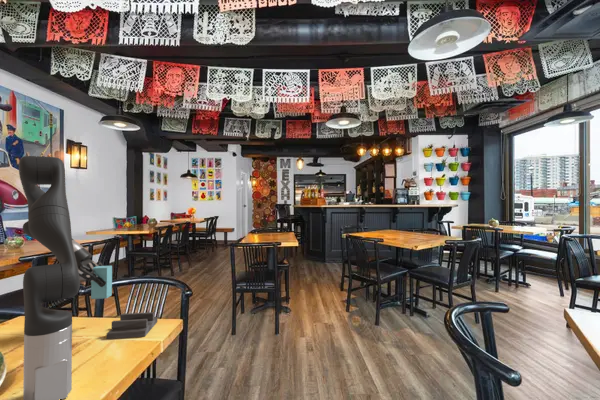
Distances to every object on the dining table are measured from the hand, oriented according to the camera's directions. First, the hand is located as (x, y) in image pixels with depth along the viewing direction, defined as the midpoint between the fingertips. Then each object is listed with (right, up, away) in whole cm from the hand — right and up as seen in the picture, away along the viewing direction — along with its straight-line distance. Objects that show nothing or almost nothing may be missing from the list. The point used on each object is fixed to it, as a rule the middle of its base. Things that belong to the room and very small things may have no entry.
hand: (107, 283), depth 115 cm
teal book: (-2, -5, 0) cm, 6 cm away
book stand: (+13, -17, -4) cm, 22 cm away
